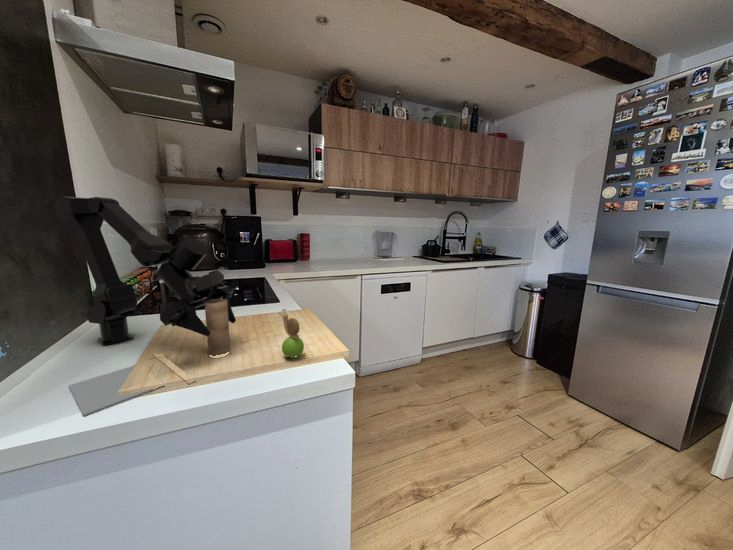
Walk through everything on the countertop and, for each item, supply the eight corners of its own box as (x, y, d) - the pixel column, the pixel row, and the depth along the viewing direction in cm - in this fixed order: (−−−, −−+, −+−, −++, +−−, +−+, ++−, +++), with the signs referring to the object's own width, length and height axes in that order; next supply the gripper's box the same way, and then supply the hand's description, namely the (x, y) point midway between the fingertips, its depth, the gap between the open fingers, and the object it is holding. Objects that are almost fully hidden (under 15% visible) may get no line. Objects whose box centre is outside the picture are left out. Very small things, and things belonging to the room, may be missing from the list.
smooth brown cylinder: (204, 354, 72) (200, 301, 69) (224, 348, 76) (221, 297, 73) (214, 360, 69) (210, 305, 66) (234, 353, 73) (231, 301, 70)
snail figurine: (293, 349, 76) (292, 306, 74) (308, 356, 72) (308, 311, 70) (275, 355, 72) (274, 311, 70) (290, 364, 68) (289, 316, 66)
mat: (68, 387, 56) (68, 385, 56) (142, 364, 66) (142, 363, 66) (83, 416, 48) (83, 414, 48) (165, 386, 58) (164, 384, 58)
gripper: (165, 266, 60) (214, 320, 60) (225, 256, 78) (263, 298, 78) (139, 299, 63) (185, 351, 63) (202, 282, 81) (239, 323, 81)
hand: (222, 328), depth 71 cm, fingers open, 9 cm apart
